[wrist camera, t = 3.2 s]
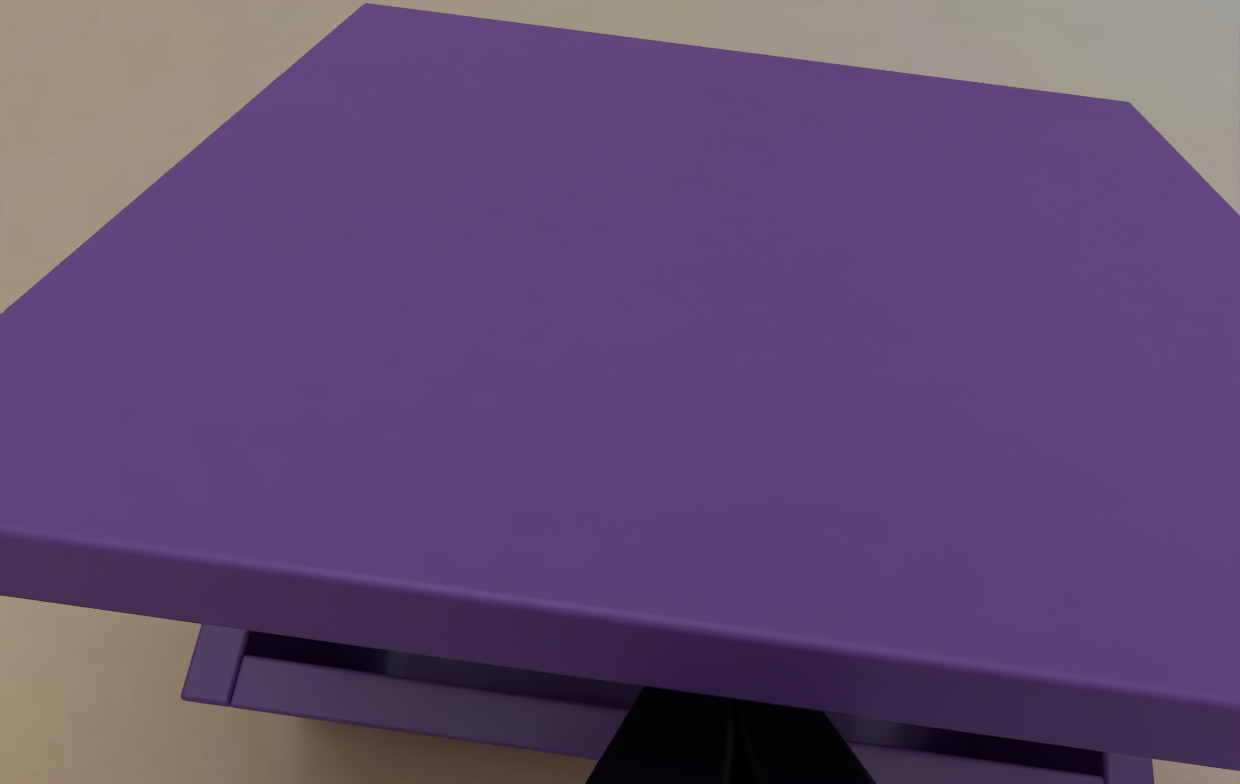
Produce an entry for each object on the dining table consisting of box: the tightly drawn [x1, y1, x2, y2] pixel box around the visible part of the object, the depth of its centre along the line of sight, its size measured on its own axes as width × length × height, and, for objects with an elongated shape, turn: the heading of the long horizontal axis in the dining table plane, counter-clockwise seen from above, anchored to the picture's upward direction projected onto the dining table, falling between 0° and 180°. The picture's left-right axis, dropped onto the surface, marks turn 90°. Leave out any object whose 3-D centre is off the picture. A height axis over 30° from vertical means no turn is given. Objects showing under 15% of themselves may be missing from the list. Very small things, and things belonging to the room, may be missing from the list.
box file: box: [181, 624, 1154, 784], centre depth 16 cm, size 11×13×5 cm
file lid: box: [0, 3, 1240, 771], centre depth 11 cm, size 12×13×1 cm
